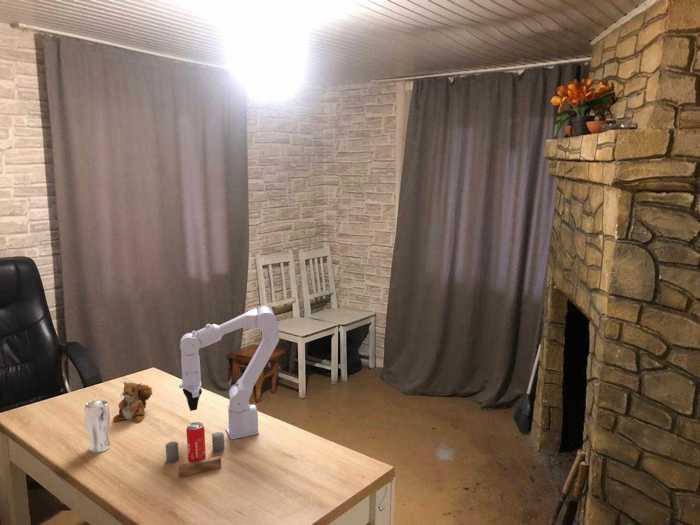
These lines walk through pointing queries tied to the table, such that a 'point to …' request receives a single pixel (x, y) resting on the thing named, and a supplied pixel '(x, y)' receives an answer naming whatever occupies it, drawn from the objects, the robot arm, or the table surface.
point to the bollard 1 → (172, 452)
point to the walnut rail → (199, 466)
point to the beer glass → (97, 425)
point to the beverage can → (196, 442)
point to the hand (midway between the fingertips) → (193, 409)
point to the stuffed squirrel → (133, 402)
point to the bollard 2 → (218, 442)
